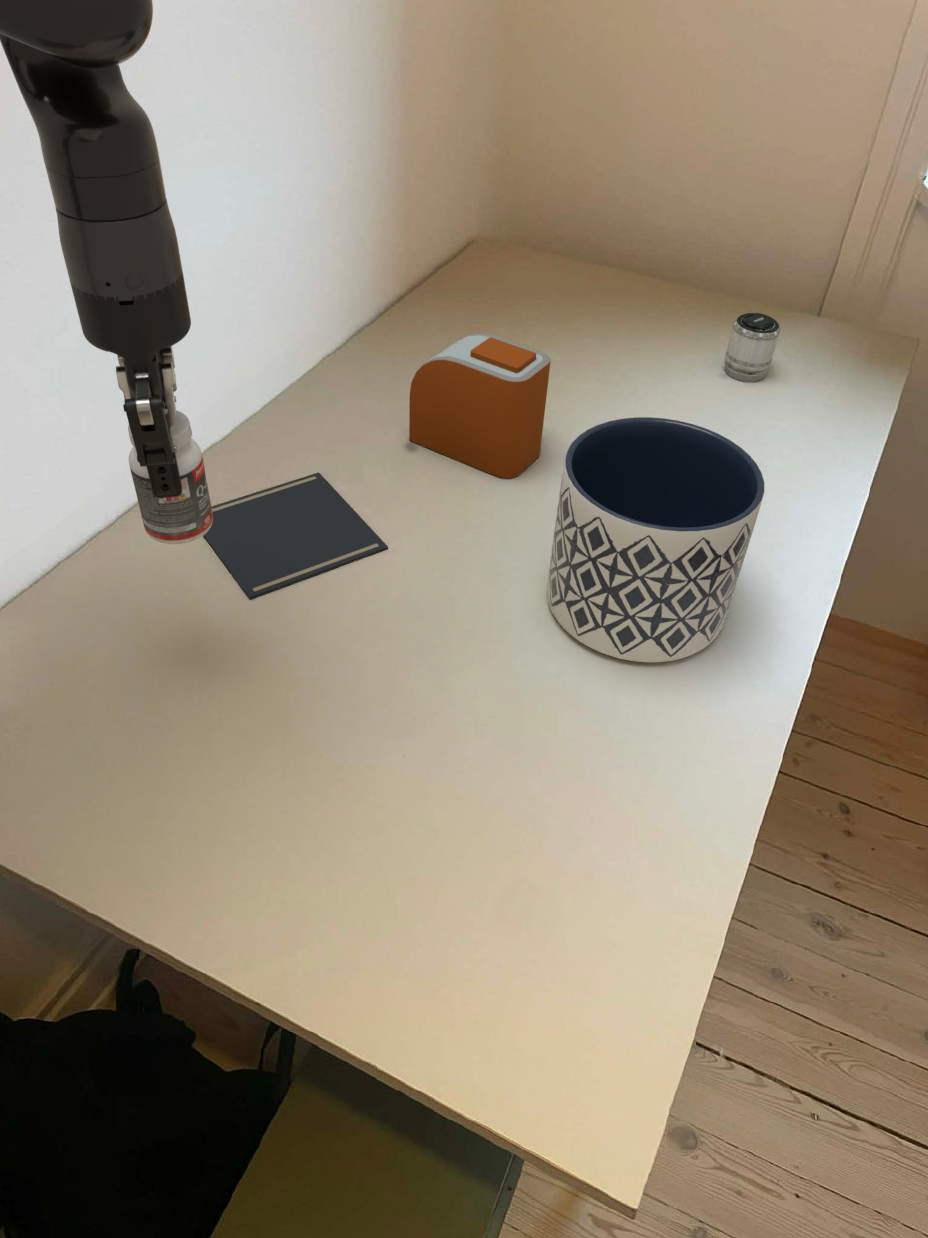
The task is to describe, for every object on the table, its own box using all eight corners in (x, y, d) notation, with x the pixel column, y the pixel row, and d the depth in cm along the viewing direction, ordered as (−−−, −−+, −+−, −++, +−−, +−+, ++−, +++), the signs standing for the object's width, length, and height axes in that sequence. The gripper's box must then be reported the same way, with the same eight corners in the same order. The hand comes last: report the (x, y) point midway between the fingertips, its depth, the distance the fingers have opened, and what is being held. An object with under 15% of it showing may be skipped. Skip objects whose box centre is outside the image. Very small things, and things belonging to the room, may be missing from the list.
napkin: (249, 599, 97) (249, 597, 97) (188, 515, 106) (187, 513, 106) (388, 548, 104) (388, 546, 104) (319, 474, 113) (318, 471, 113)
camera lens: (712, 369, 136) (725, 316, 131) (740, 356, 139) (753, 304, 134) (749, 388, 133) (763, 334, 127) (776, 374, 136) (791, 321, 130)
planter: (743, 581, 102) (785, 449, 91) (694, 692, 90) (736, 556, 79) (583, 528, 108) (604, 398, 97) (517, 627, 96) (533, 490, 84)
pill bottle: (221, 537, 81) (203, 436, 74) (152, 554, 79) (128, 451, 72) (205, 499, 85) (186, 399, 78) (138, 514, 83) (114, 413, 76)
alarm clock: (547, 451, 119) (559, 349, 110) (511, 483, 114) (520, 379, 104) (447, 412, 125) (451, 312, 115) (408, 440, 119) (409, 338, 110)
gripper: (75, 230, 71) (122, 428, 83) (60, 320, 61) (117, 531, 72) (180, 224, 72) (212, 420, 84) (183, 312, 62) (219, 520, 74)
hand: (168, 471), depth 78 cm, fingers closed on pill bottle, 5 cm apart
